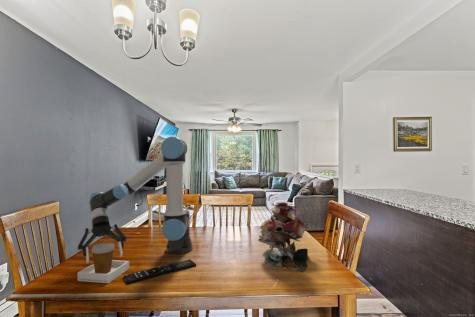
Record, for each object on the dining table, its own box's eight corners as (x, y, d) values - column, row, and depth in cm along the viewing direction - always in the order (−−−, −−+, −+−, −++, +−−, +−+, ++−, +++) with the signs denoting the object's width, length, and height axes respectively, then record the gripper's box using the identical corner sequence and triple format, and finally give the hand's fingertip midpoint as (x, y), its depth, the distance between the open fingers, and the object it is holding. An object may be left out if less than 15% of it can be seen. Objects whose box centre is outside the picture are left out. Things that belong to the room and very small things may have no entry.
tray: (129, 268, 120) (129, 261, 120) (108, 283, 105) (108, 274, 106) (101, 266, 122) (101, 259, 122) (77, 280, 108) (77, 272, 108)
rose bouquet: (307, 251, 142) (306, 199, 143) (308, 273, 114) (308, 208, 114) (262, 247, 148) (262, 197, 149) (253, 268, 120) (253, 205, 121)
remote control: (122, 278, 110) (122, 274, 111) (189, 262, 129) (189, 258, 129) (126, 285, 104) (126, 281, 104) (196, 267, 123) (196, 263, 123)
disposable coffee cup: (119, 269, 117) (119, 243, 117) (102, 277, 108) (102, 250, 108) (104, 266, 120) (104, 241, 120) (86, 274, 111) (86, 247, 112)
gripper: (125, 220, 134) (132, 256, 122) (70, 227, 120) (71, 269, 107) (128, 211, 130) (135, 248, 118) (70, 218, 115) (72, 261, 103)
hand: (105, 258), depth 113 cm, fingers open, 13 cm apart
